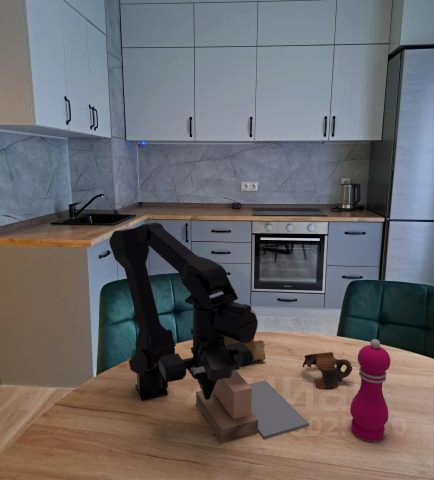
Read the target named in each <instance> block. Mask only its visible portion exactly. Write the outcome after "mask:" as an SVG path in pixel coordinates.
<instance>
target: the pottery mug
mask: <svg viewBox="0 0 434 480" xmlns="http://www.w3.org/2000/svg"><path fill="white" fill-rule="evenodd" d="M312 365H313V366H315V367H316V368H317V369H318V370H320V372H321V376H322V377H320V378H319V377H318V378H315V379H314V382H315V387H316V388H317V389H325V388H327V389H328V388H332V389H333V388H338V387H339V382H342V380H343V379H344V378H347V377H349V376H350V375H351V373H352V372H353V366H352V363H351V362H350V361H349V360H348V359H342V358H341V359H337V358H336V357H335V356H334V352H331V351H328V352H321V353H320V352H318V353H311V354H306V355H304V361H303V362H302V368H305V366H306V367H309V368H311V367H312ZM344 365H345V370H344V371H342V367H343V366H344Z"/></svg>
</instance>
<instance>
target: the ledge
mask: <svg viewBox="0 0 434 480" xmlns="http://www.w3.org/2000/svg"><path fill="white" fill-rule="evenodd" d="M195 394H196V395H195V398H196V399H195V404H196V406H197V408H198V409H199V411H200V413H201V414H202V416H203V417H204V418H205V420H206V422H207V423H208V425H209V427H210V428H211V430H212V432H213V433H214V434H215V436H216V438H217V439H218V441H219V443H220V444H225V443H228V442H231V441H235V440H236V441H237V440H239V439H242V438H245V437H248V436H249V437H250V436H252V435H255V434H258V433H259V432H258V419H257V418H256V417H255V416H254V414H253V413H252V412H251V415H248V416H244V417H241V418H237V419H233V418H232V417H231V415H230V414H229V413H228V411H227V410H226V409H225V407H224V406H223V405H222V403H221V402H220V401H219V399H218V398H217V397H216V395H215V394H214V389H213V392H212V394H211V397H210V399H208V400H205V398H204V396H203V393H202V391H201V390H198V391H195Z"/></svg>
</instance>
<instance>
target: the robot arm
mask: <svg viewBox="0 0 434 480" xmlns="http://www.w3.org/2000/svg"><path fill="white" fill-rule="evenodd" d="M109 247H110V250H111V252H112V255H113V258H114V259H115V261H116V262H117V263H118V264H119V265H120V266H121V267H122V268H123V269H124V272H125V276H126V281H127V284H128V288H129V289H128V290H129V293H130V296H131V301H132V305H133V310H134V314H135V317H136V322H137V326H138V334H137V336H136V340H135V351H136V353H135V354H134V356H132V357H130V359H129V360H128V365H129V369H130V371H132V372H133V373H135V374H136V384H135V385H134V386H135V387H134V388H135V390H136V392H137V394H138V397H139V400H141V401H144V400H151V399H154V398H158V397H163V396H167V395H168V394H169V391H168V388H169V383H171V382H177V381H181V380H183V379H185V377H186V376H187V371H188V373H190V375H191V377H192V378H193V379H194V380H196V381H197V382H198V385H199V388H200V391H202V393H203V396H204V398H205V400H208V399H210V397H211V394H212V392H213V389H214V387H215V384H216V382H217V380H219V379H224V378H226V379H227V378H230V377H231V376H232V372H233V371H234V370H236V371H237V370H240V368H244V367H248V366H253V365H254V355H253V352H252V351H251V350H250V349H249V348H247V347H246V346H245V345H244V344H243V343H248V342H250V341H251V340H252V339H253V337H254V335H255V336H256V333H257V330H258V324H259V320H258V318H257V319H256V317H257V315H256V316H255V314H256V313H255V314H254V313H252V312H251V309H252V306H251V305H250V304H246V303H245V304H244V303H239V302H236V301H238V299H239V297H238V294H237V293H236V291H235V290H236V289H235V288H234V287H233V285H232V283H231V282H230V279H229V278H228V276H227V271H226V269H225V268H224V267H223V266H222V265H221V264H219V263H217V262H215V261H214V260H212V259H209V258H207V257H202V256H199V255H197V254H195V253H194V252H193V251H192V250H191V249H189V248H188V247H187V246H186V245H185V244H183V243H182V242H180V241H179V240H178V239H177V238H176V237H175V236H174V235H172V234H171V233H170V232H169V231H167V230H166V229H165V227H164V225H162V223H160V222H159V223H158V222H149V223H142V224H141V225H138V226H136V227H133V228H126V229H120V230H119V229H118V230H114V231H113V232H112V234H111V237H110V238H109ZM150 248H151V249H152V250H153V251H154V252H155V253H156V254H158V255H159V256H160V257H161V258H162V259H163V260H164V261H166V262H167V263H168V264H169V265H170V266H171V267H172V268H174V269H175V270H176V272H178V274H180V279H181V283H182V284H183V286H184V287H185V288H186V290H187V291H188V292H189V293H190V295H189V296H187V297H186V298H185V299H184V303H186V304H189V305H192V328H190V330H191V331H190V332H191V333H190V334H191V335H192V347H190V352H191V354H192V357H188V358H182V357H181V355H180V354H179V353H176V348H175V347H177V345H176V343H175V340H174V335H173V331H172V330H171V329H170V328H169V329H168V330H167V329H166V327H165V326H163V324H162V323H161V320H160V316H159V312H158V308H157V303H156V300H155V296H154V291H153V287H152V284H151V283H152V282H151V280H150V276H149V272H148V268H147V264H146V263H147V260H148V257H149V254H150V253H149V252H150ZM221 292H222V293H221ZM219 293H221V294H219ZM216 294H219V295H216ZM213 295H216V296H214V297H211V296H213ZM224 336H226V337H229V338H231V339H234V340H237V341H239V342H238V343H233V344H227V345H226V346H225V343H224V342H225V340H224ZM254 338H255V337H254Z"/></svg>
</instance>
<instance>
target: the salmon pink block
mask: <svg viewBox="0 0 434 480" xmlns="http://www.w3.org/2000/svg"><path fill="white" fill-rule="evenodd" d="M249 384H250V383H248V382H247V381H246V380H245V379H244V378H243V376H242V375H241V374H240V373H239V372H238V371H237V370H234V371H233V372H232V376H231V377H230V378H227V379H226V378H224V379H219V380H217V382H216V384H215V387H214V394H215V395H216V397H217V398H218V399H219V401H220V402H221V403H222V405H223V406H224V407H225V409H226V410H227V411H228V413H229V414H230V415H231V417H232V418H233V419H237V418H241V417H244V416H248V415H251V402H252V387H251V386H250V385H249Z"/></svg>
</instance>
